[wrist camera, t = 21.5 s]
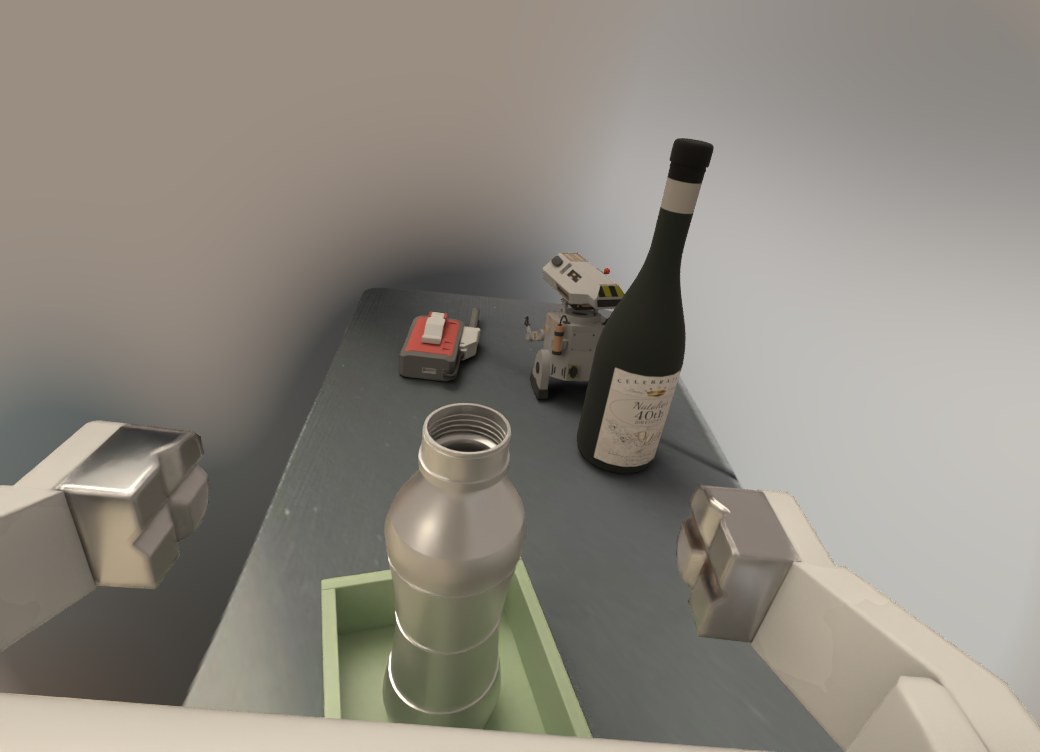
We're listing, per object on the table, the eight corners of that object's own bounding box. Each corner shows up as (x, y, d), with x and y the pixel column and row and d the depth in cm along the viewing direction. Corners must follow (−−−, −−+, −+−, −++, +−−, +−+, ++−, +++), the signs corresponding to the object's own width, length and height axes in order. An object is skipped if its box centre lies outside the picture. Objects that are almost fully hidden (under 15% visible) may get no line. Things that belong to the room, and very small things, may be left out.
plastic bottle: (517, 693, 35) (574, 421, 25) (448, 798, 30) (486, 506, 20) (432, 637, 37) (454, 369, 28) (356, 724, 32) (349, 432, 22)
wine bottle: (667, 473, 57) (771, 155, 42) (596, 483, 54) (680, 146, 39) (628, 427, 63) (706, 136, 49) (562, 433, 61) (624, 127, 46)
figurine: (585, 360, 76) (608, 250, 69) (614, 408, 66) (644, 286, 59) (518, 359, 74) (534, 245, 67) (537, 408, 64) (559, 282, 57)
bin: (582, 814, 30) (602, 760, 28) (331, 894, 26) (327, 840, 24) (509, 602, 41) (518, 549, 39) (324, 635, 37) (321, 579, 35)
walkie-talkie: (471, 391, 66) (482, 319, 83) (474, 357, 64) (485, 290, 81) (393, 382, 65) (421, 312, 83) (394, 347, 63) (423, 283, 80)
